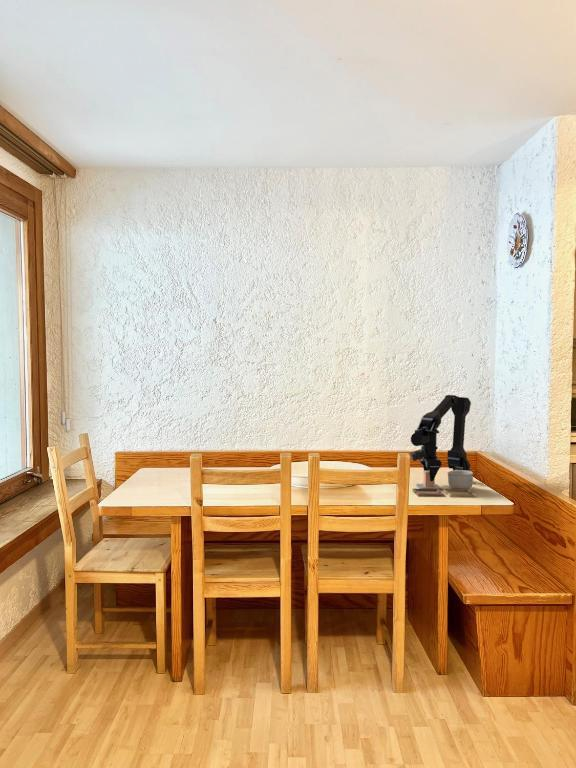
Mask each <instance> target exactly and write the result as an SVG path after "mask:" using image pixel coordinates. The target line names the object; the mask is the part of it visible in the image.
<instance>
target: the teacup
mask: <svg viewBox="0 0 576 768" xmlns="http://www.w3.org/2000/svg"><path fill="white" fill-rule="evenodd" d="M473 475H474V472H473V471H470V470H468V471H466V470H454V471H453V470H450V471H448V472H447V482H448V486H449V488H450V489H469V490H470V489H471V488H472V487H473V484H474V476H473Z"/></svg>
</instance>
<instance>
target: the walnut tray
mask: <svg viewBox="0 0 576 768" xmlns="http://www.w3.org/2000/svg"><path fill="white" fill-rule="evenodd" d="M412 492H413V494H415V495H416V496H417V497H419V498H420V497H423V498H426V497H428V498H431V497H432V498H435V497H436V498H444V497H445V493H444V492H443V491H440V490H439V489H419V488H412Z"/></svg>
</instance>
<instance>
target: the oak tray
mask: <svg viewBox="0 0 576 768" xmlns="http://www.w3.org/2000/svg"><path fill="white" fill-rule="evenodd" d="M442 493H444V495H447V497H449V498H477V494H475V493H474V492H473V491H471V490H470V489H452V488H450V489H447V488H445V489H442Z"/></svg>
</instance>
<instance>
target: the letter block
mask: <svg viewBox="0 0 576 768" xmlns="http://www.w3.org/2000/svg"><path fill="white" fill-rule="evenodd" d="M422 474H423V478H422V484H423V485H424V486H425V487H434V486H435V484H436V483H435V480H436V479H435V478H436V477H435V478H434V480H433V481H430V476H429V471H424V470H423V473H422Z"/></svg>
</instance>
